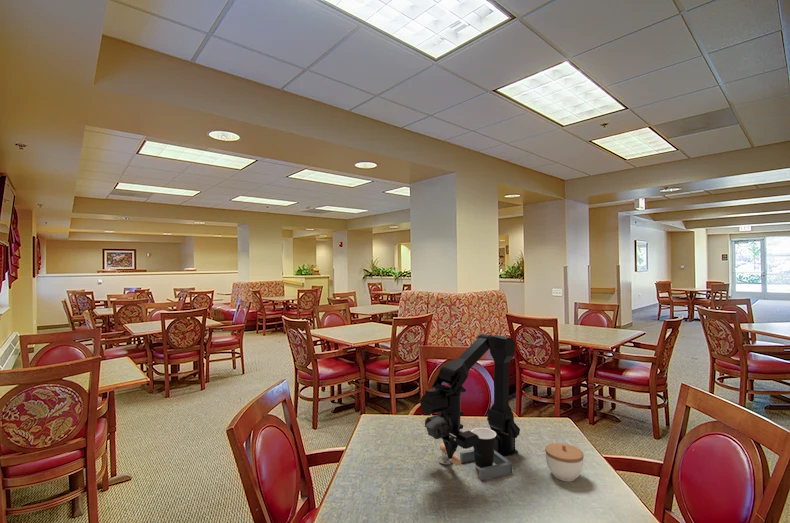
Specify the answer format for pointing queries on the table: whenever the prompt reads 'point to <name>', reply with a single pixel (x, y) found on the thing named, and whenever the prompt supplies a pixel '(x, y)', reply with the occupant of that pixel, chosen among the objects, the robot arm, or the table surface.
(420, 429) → the table surface
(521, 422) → the table surface
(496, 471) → the holder
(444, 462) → the post
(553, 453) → the lidded jar
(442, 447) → the lever
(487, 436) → the dixie cup
